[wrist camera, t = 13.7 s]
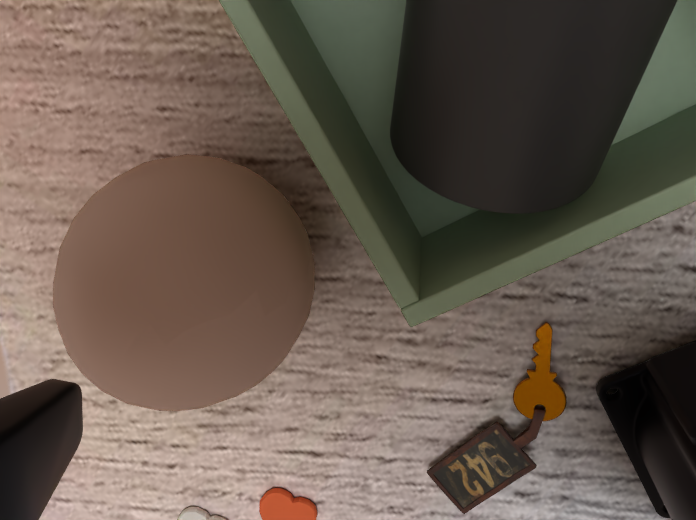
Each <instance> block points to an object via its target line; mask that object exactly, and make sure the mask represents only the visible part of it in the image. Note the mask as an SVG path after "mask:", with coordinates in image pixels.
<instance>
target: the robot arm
mask: <svg viewBox="0 0 696 520" xmlns="http://www.w3.org/2000/svg"><path fill="white" fill-rule="evenodd" d="M612 388H616V389H618V390H617V391H616V392H615V393H613V394H607V391H608V390H609V389H612ZM596 392H597V395H598V397H599V399H600V401H601V403H602V405H603V407H604V409H605V411H606V413H607V415H608V417H609V419H610V421H611V423H612V425H613V427H614V429H615V431H616V433H617V435H618V437H619V439H620V441H621V443H622V445H623V447H624V449H625V451H626V453H627V455H628V457H629V459H630V460H631V462H632V464H633V466H634V468H635V470H636V472H637V474H638V476H639V478H640V480H641V482H642V484H643V486H644V488H645V490H646V492H647V494H648V496H649V498H650V500H651V502H652V504H653V506H654V508H655V510H656V512H657V513H658V514H659V515H660V516H662V517H665V518H671V519H672V520H696V341H694V342H691V343H689V344H686V345H684V346H681V347H678V348H676V349H673V350H670V351H668V352H665V353H663V354H660V355H657V356H655V357H652V358H651V359H650V360H649V361H646V362H643V363H641V364H638V365H635V366H633V367H630V368H628V369H625V370H622V371H620V372H617V373H615V374H612V375H609V376H607V377H604V378H603V379H601V380H600V381H599V382H598V383H597V386H596ZM82 432H83V418H82V392H81V388H80V386H79V385H77V384H76V383H72V382H67V381H62V380H56V379H50V380H47V381H44V382H42V383H39V384H36V385H34V386H31V387H29V388H26V389H24V390H21V391H19V392H16V393H13V394H11V395H8V396H6V397H3V398H1V399H0V520H39V518H40V516H41V514H42V512H43V511H44V509H45V507H46V505H47V503H48V501H49V500H50V498H51V496H52V494H53V492H54V490H55V489H56V487H57V485H58V483H59V481H60V479H61V478H62V476H63V474H64V472H65V470H66V468H67V466H68V465H69V463H70V461H71V459H72V457H73V455H74V454H75V452H76V450H77V448H78V446H79V444H80V441H81V438H82Z"/></svg>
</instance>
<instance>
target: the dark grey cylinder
mask: <svg viewBox="0 0 696 520" xmlns="http://www.w3.org/2000/svg"><path fill="white" fill-rule="evenodd" d="M676 2H677V0H406V7H405V15H404V23H403V31H402V38H401V46H400V54H399V62H398V70H397V78H396V86H395V94H394V102H393V110H392V118H391V126H390V139H391V144H392V147H393V150H394V152H395V154H396V157H397V158H398V160H399V161H400V163H401V164H402V166H403V167H404V168H405V169H406V170H407V171H408V173H409V174H410V175H412V176H413V177H414V178H415V179H416V180H417V181H418V182H420V183H421V184H423V185H424V186H425V187H427V188H428V189H430V190H432V191H433V192H435V193H437V194H439V195H441V196H443V197H445V198H447V199H449V200H452V201H454V202H457V203H460V204H462V205H465V206H468V207H472V208H476V209H480V210H485V211H491V212H498V213H511V214H522V213H535V212H543V211H547V210H551V209H555V208H558V207H561V206H563V205H566V204H568V203H570V202H572V201H574V200H576V199H577V198H578V197H580V196H581V195H582V194H584V193H585V192H586V191H587V190H588V189H589V188H590V187H591V185H592V184H593V182H594V181H595V179H596V177H597V175H598V173H599V170H600V168H601V166H602V164H603V162H604V160H605V157H606V155H607V153H608V151H609V149H610V146H611V144H612V142H613V140H614V138H615V136H616V133H617V131H618V129H619V127H620V125H621V122H622V120H623V118H624V116H625V114H626V112H627V109H628V107H629V105H630V103H631V101H632V98H633V96H634V94H635V92H636V90H637V88H638V85H639V83H640V81H641V79H642V77H643V74H644V72H645V70H646V68H647V66H648V64H649V61H650V59H651V57H652V55H653V53H654V50H655V48H656V46H657V44H658V42H659V40H660V37H661V35H662V33H663V31H664V29H665V26H666V24H667V22H668V20H669V18H670V16H671V13H672V11H673V9H674V7H675V5H676Z"/></svg>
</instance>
